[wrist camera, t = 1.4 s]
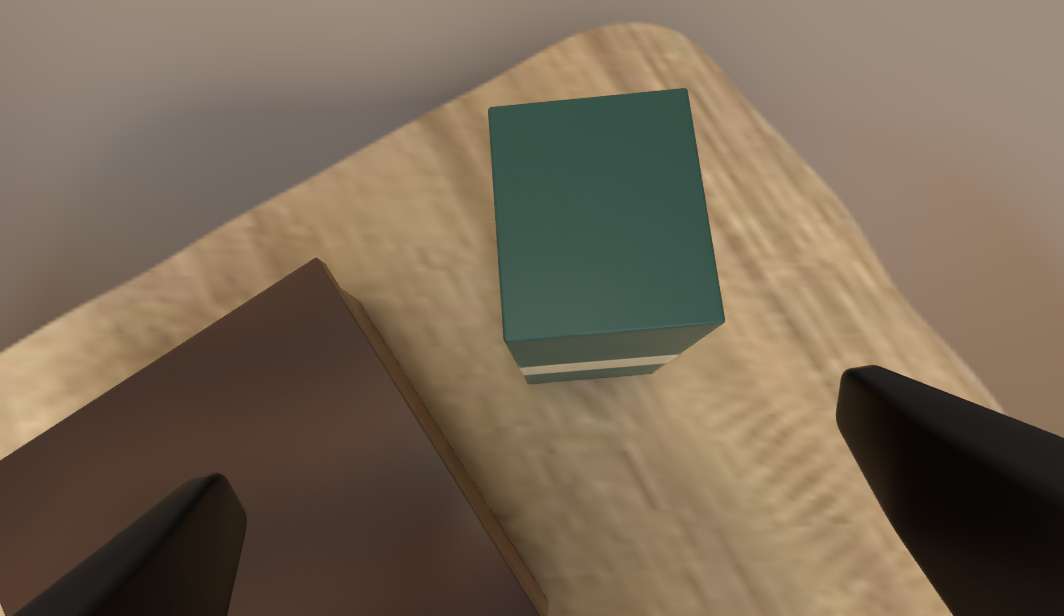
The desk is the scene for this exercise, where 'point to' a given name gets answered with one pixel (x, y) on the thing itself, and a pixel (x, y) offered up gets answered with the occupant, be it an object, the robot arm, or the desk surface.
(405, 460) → the walnut box
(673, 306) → the tea packet
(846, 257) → the desk surface
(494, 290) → the desk surface
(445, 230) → the desk surface
